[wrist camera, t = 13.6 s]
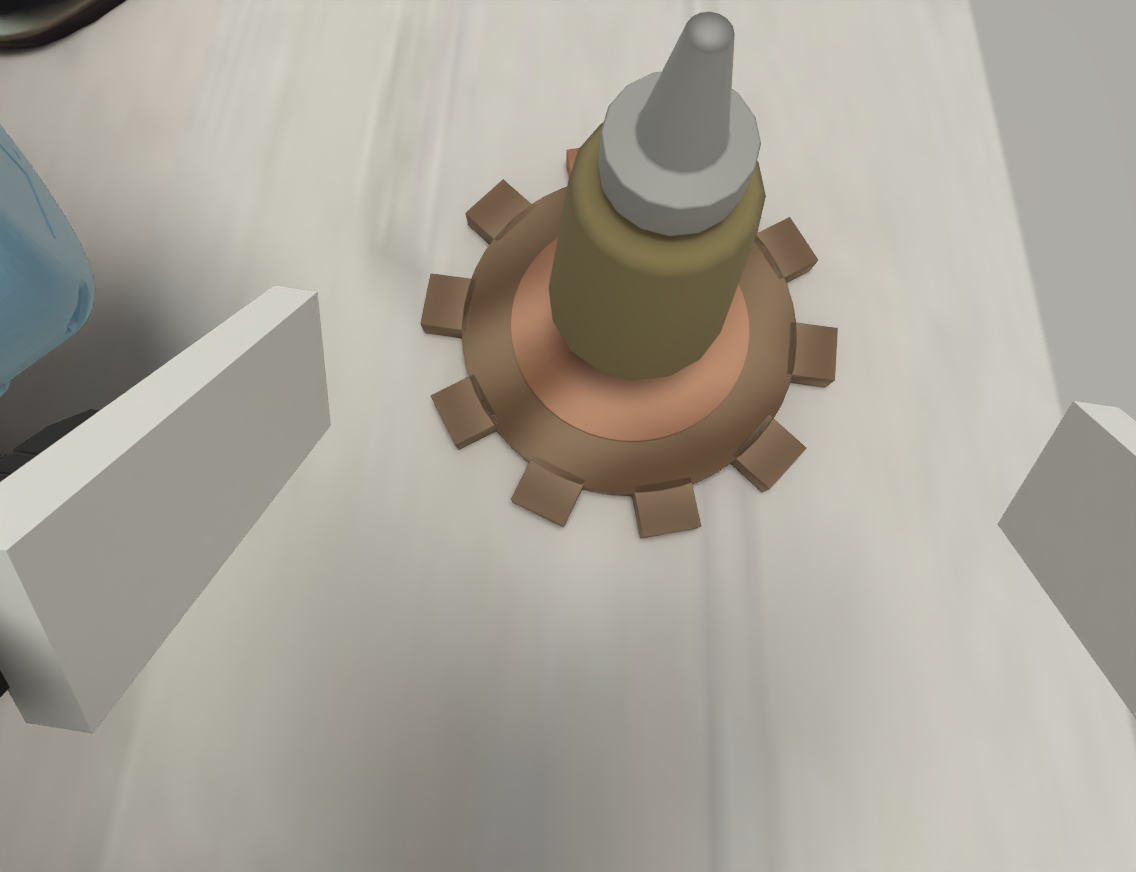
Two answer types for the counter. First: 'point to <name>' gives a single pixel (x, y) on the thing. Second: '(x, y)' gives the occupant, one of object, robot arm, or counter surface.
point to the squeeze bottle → (660, 214)
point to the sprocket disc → (615, 405)
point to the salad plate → (46, 19)
